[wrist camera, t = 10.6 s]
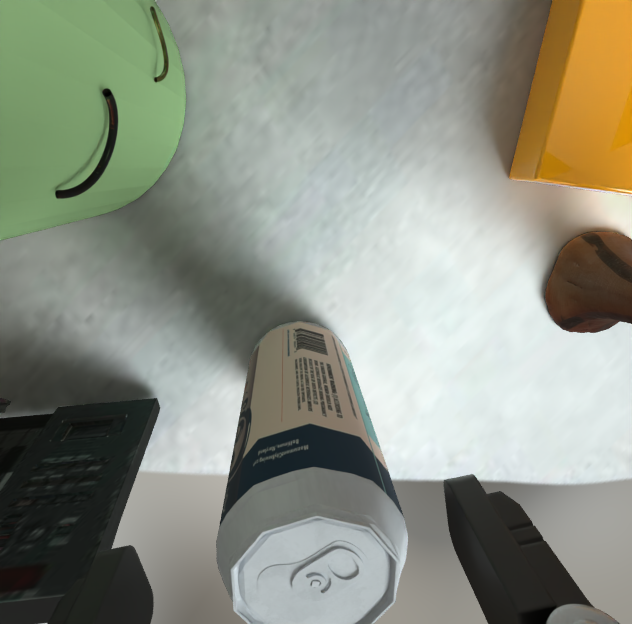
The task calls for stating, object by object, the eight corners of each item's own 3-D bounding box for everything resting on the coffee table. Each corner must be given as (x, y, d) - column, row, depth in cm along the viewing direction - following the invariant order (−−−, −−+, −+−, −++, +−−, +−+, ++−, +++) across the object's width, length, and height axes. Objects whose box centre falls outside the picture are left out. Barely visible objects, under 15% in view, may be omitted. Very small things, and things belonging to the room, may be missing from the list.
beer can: (229, 355, 21) (163, 575, 10) (310, 297, 20) (342, 460, 9) (289, 425, 22) (294, 688, 11) (367, 373, 22) (456, 595, 10)
